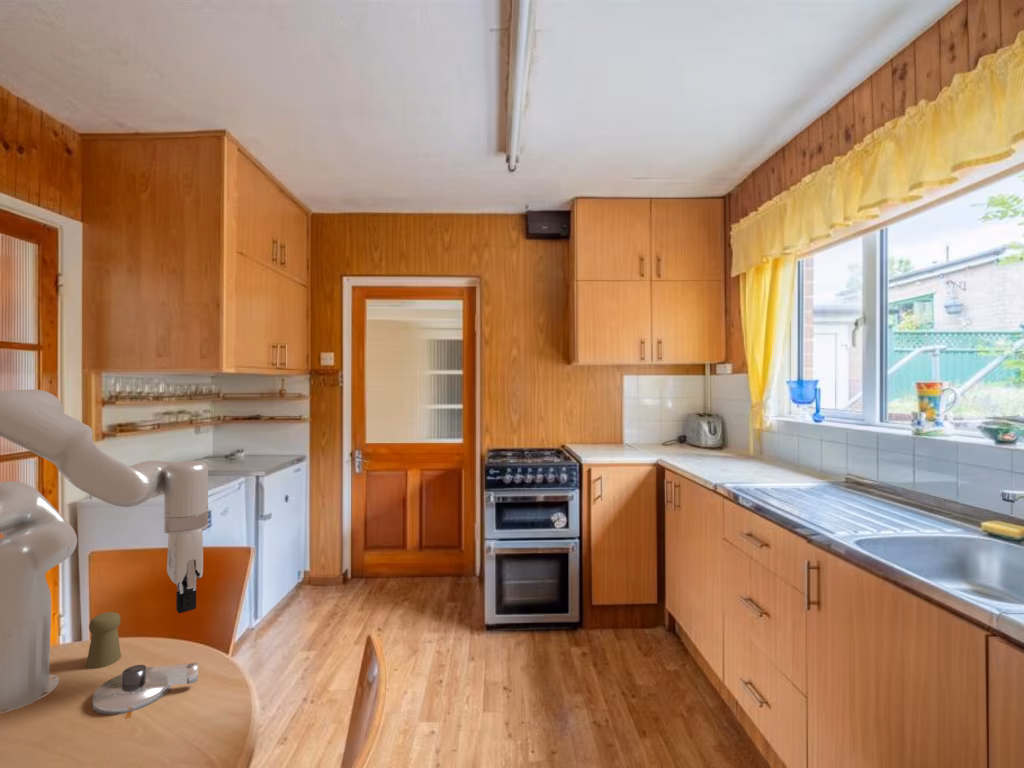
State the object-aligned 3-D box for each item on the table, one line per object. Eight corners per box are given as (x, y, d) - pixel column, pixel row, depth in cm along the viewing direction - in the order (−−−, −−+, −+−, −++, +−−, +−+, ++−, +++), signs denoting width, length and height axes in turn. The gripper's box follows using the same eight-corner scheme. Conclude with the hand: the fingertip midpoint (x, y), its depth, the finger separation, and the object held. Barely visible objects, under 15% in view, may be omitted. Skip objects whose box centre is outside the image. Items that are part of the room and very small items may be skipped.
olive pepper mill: (100, 676, 100) (102, 623, 100) (77, 672, 101) (78, 619, 101) (129, 660, 106) (130, 610, 106) (106, 656, 107) (108, 607, 107)
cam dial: (76, 718, 86) (77, 693, 86) (115, 678, 98) (116, 655, 98) (183, 707, 90) (184, 683, 90) (209, 669, 102) (209, 648, 102)
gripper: (158, 517, 103) (158, 603, 103) (171, 534, 92) (170, 629, 92) (199, 511, 108) (199, 593, 108) (216, 526, 98) (215, 616, 98)
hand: (186, 609), depth 100 cm, fingers closed
